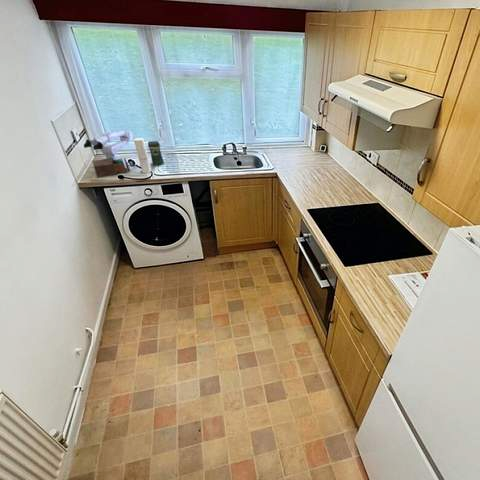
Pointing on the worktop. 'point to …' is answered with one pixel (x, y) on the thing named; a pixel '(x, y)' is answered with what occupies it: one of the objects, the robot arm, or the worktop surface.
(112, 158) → the scoop
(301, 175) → the worktop surface
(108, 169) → the cabinet
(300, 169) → the worktop surface
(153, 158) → the coffee jar
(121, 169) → the drawer
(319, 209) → the worktop surface
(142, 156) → the cylindrical container
